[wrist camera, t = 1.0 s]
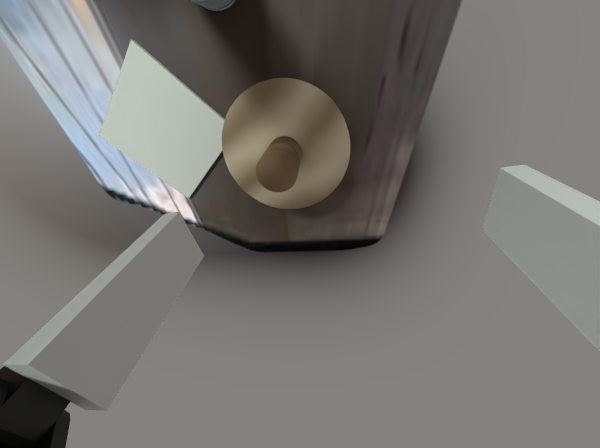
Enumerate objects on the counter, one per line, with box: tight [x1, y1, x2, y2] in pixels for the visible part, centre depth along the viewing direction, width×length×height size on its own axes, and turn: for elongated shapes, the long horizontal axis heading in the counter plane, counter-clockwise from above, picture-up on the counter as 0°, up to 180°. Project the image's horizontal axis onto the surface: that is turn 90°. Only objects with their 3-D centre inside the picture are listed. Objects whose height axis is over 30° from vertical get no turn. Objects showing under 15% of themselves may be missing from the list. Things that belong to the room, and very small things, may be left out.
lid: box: [222, 78, 350, 209], centre depth 25 cm, size 15×15×7 cm
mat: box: [99, 40, 225, 198], centre depth 34 cm, size 15×15×1 cm
